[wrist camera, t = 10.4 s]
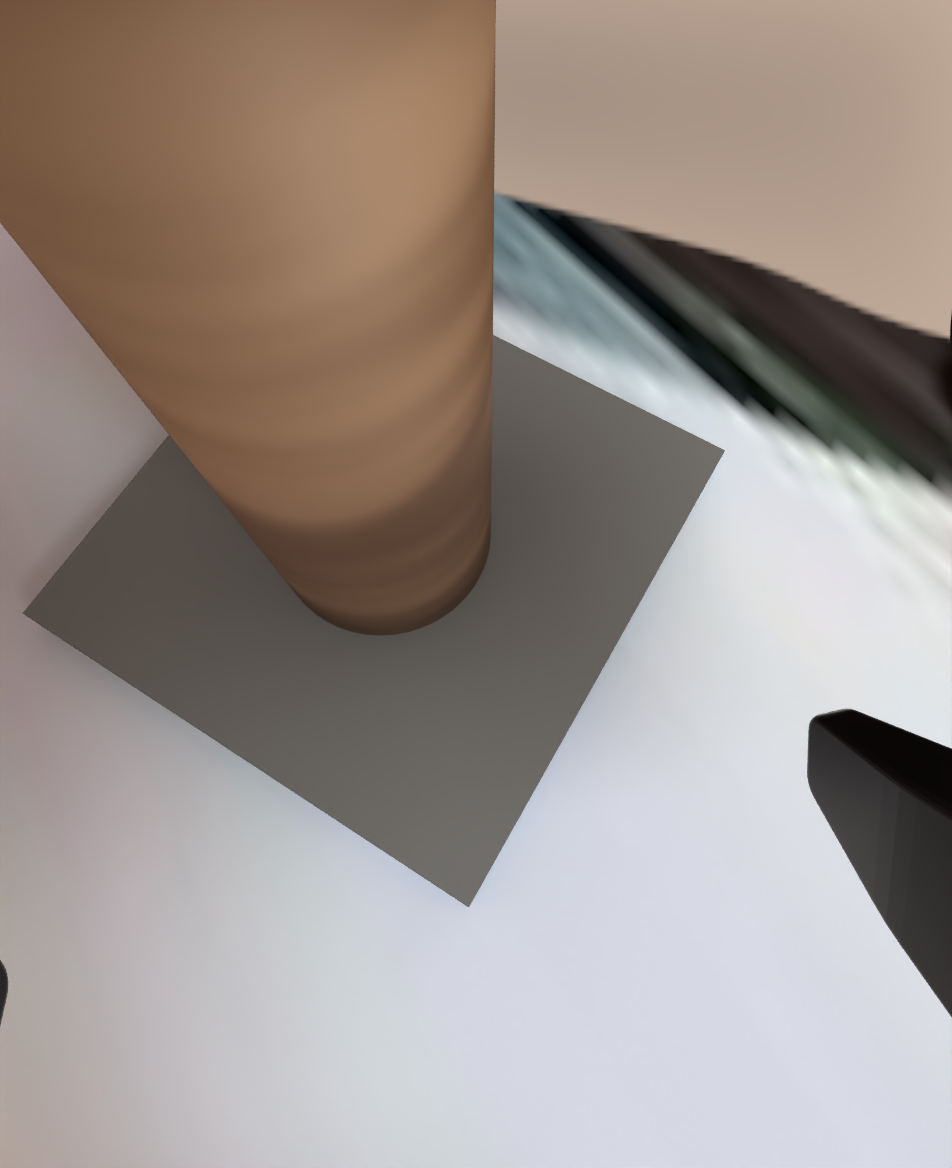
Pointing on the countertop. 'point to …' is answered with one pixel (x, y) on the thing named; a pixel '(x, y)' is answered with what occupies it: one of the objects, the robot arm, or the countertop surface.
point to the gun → (951, 327)
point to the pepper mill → (282, 263)
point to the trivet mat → (408, 660)
